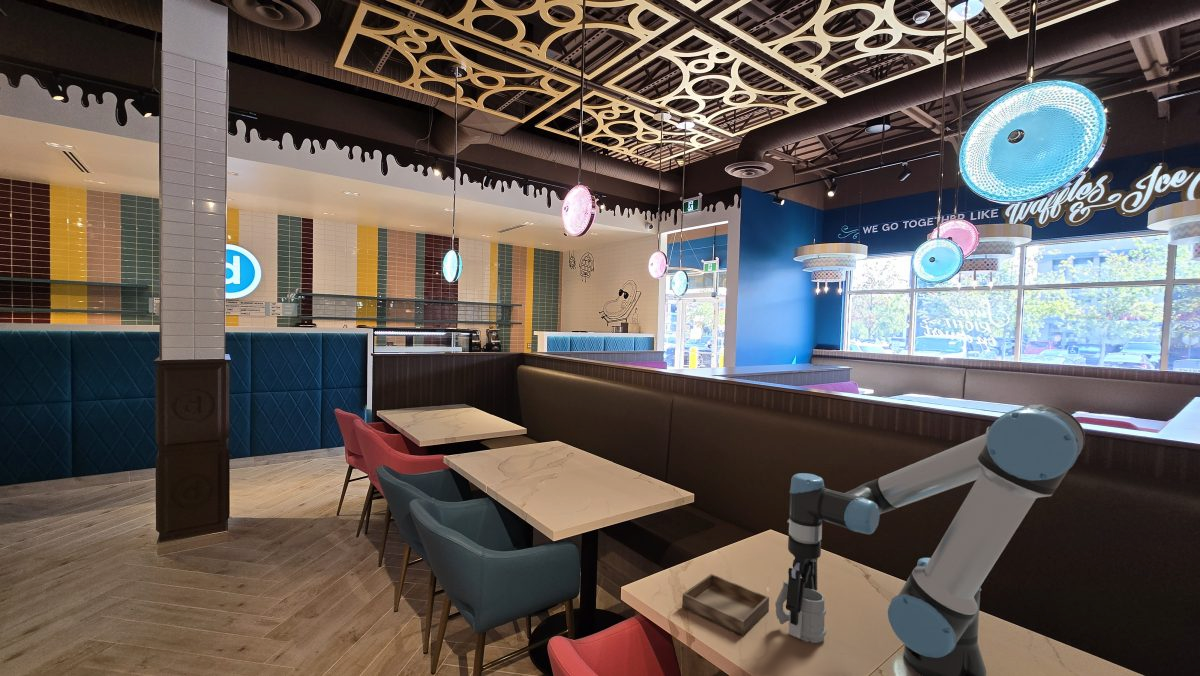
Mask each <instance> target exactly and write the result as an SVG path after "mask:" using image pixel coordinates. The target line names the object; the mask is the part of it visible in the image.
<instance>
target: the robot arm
mask: <svg viewBox="0 0 1200 676" xmlns="http://www.w3.org/2000/svg"><path fill="white" fill-rule="evenodd" d="M1085 444H1086V433H1085V430H1084V427H1083V426H1082V424H1081V423H1080V422H1079V420H1078V419H1077V418H1076V417H1075V416H1074V415H1072V414H1071V413H1070V412H1068V411H1067V410H1065V409H1063V408H1060V407H1058V406H1056V405H1051V404H1045V403H1042V404H1041V403H1034V404H1028V405H1024V406H1022V407H1020V408H1017V409H1013V410H1011V411H1007V412H1005V413H1004V414H1002V415H1001V416H999V417H998V418H997V419H995V421H994V422H993V423H992V424H991V425H990V426H988V427H987V428H986V431H985V433H984V434H981V435H980V436H977V437H975V438H972V439H970V440H967V441H964V442H963V443H960V444H957V445H955V446H953V447H950V448H948V449H945V450H943V451H941V452H939V453H936V454H934V455H932V456H929V457H926V458H924V459H921V460H919V461H917V462H915V463H912V464H909V465H907V466H905V467H902V468H900V469H897V470H895V471H893V472H890V473H887V474H886V475H883V476H880V477H879V478H875V479H873V480H871V481H866V482H865V483H862V484H861V485H859V486H856V488H853V489H851V490H848V491H846V492H840V491H837V490H834V489H833V490H832V489H830V488H827V487H825V483H824V479H823V478H822V477H821V476H818V475H816V474H814V473H808V472H807V473H805V472H804V473H803V472H801V473H795V474H794V475H792V477H791V479H790V481H791V482H790V489H789V514H788V515H789V519H787V521H786V522H787V524H788V538H787V539H788V541H787V542H788V543H787V550H788V552H789V554H791V555H792V556H793V557H794V559H793V561H792V567H788V571H787V573H788V581H787V583H788V591H787V599H786V601H785V602H786V604H785V609H786V610H787V611H789V612H788V613H789V621H788V635H791V636H793V637H795V638H797V639H800V638H801V626H802V611H801V604H802V598H803V592H804V588H809V589H813V590H816V591H817V590H818V559H819V558H820V557H821V555H822V554H821V553H822V541H821V540H822V539H823V538H822V537H823V536H822V535H823V532H822V531H823V521H824V522H827V523H830V524H833V525H836V526H837V527H838V526H839V527H842V528H843V529H844V528H845V529H848V530H850V531H852V532H855V533H860V534H864V535H872V534H874V532H875V531H876V529H878V526H879V524H880V523H879V522H880V516H881V514H884V513H888V512H890V511H893V510H896V509H899V508H900V507H904V506H906V505H909V504H912V503H915V502H919V501H921V500H924V499H926V498H930V497H932V496H934V495H938V494H940V493H943V492H945V491H948V490H949V491H950V490H951V489H954V488H957V487H960V486H963V485H966V484H968V483H971V482H974V481H975V482H974V483H973V485H972V487H971V488H970V490H969V492H968V493H967V496H966V497H965V499H964V501H963V502H962V504H961V506H960V507H959V509H958V511H957V512H956V514H955V516H954V517H953V519H952V521H951V523H950V524H949V526H948V528H947V529H946V531H945V533H944V534H943V536H942V538H941V540H940V542H939V544H938V545H937V547H936V549H935V551H934V552H933V554H932V555H931V556H930V557H922V558H919V559H918V560H917V563H916V564H917V565H916V566H915V567H914V569H913V570H912V571H911V572H910V575H909V576H908V578H907V580H906V581H905V583H904V585H903V587H902V588H901V590H900V592H899V593H898V594H897V595H896V596H894V597H892V599H891V601H890V603H889V605H888V607H887V618H888V619H887V620H888V621H889V624H890V626H891V629H892V631H893V633H895V636H896V637H897V638H898V639H899V640H900V641H901V642H902V643H903V644H904V645H903V654H904V655H903V656H904V658H905V660H906V661H907V663H908V665H910V666H911V667H912V668H913V669H914V670H915V671H916V672H918V673H920V674H921V675H922V676H987V668H986V666H985V661H984V659H983V655H982V652H981V649H980V646H979V643H978V641H979V640H978V639H979V622H980V621H979V617H980V603H981V591H982V588H981V586H982V584H983V583H984V581H985V579H987V576H988V575H989V573H990V572H991V571H992V569H993V568H994V565H995V564H996V562H997V561H998V559H999V558H1000V556H1001V554H1002V553H1003V551H1004V550H1005V549H1006V547H1007V545H1008V544H1009V542H1010V541H1011V539H1012V537H1013V536H1014V534H1015V533H1016V531H1017V529H1018V528H1019V526H1020V525H1021V523H1022V521H1023V520H1024V519H1025V516H1026V515H1027V514H1028V513H1029V510H1030V509H1031V508H1032V506H1033V504H1034V502H1035V501H1036V499H1038V498H1045V497H1052V496H1053V495H1054V493H1055V492H1056V490H1057V488H1058V487H1059V486H1060V484H1061V482H1062V480H1063V479H1064V477H1065V476H1066V475H1067V473H1068V472H1069V470H1070V469H1071V468H1072V467H1073V466H1074V464H1075V463H1076V461H1077V460H1078V457H1079V455H1080V454H1081V453H1082V451H1083V449H1084V447H1085ZM800 640H801V639H800Z"/></svg>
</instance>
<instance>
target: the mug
mask: <svg viewBox="0 0 1200 676" xmlns="http://www.w3.org/2000/svg"><path fill="white" fill-rule="evenodd" d="M787 591H788V581H786V580H783V582H782V588H781V590H780V592H779V594H778V597H777V599H776V601H775V616H776V618H777V619H778V622H779V623H780V624H781V625H784V624H785V623H786V622H789V613H790V612H786V611H785V609H784V603H785V602H786V601H787ZM801 611H802V626H801V638H800V640H802V641H804V642H806V643H813V644H819V643H822V642H824V640H825V637H826V634H827V629H826V626H825V615H826V613H827V610H826V607H825V597H824V595H823V593H821V592H820V591H816V590H813V589H809V588H804V592H803V598H802V604H801Z"/></svg>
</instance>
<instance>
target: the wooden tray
mask: <svg viewBox="0 0 1200 676" xmlns="http://www.w3.org/2000/svg"><path fill="white" fill-rule="evenodd" d="M681 602H682V603H681V605H682V606H681V607H682V609H683V610H685V611H687V612H689V613H691V614H694V615H696V616H698V617H700V618H702V619H704V620H706V621H708V622H710V623H712V624H714V625H716V626H718V627H721V628H722V629H725V630H727V631H728V632H731V633H733V634H735V635H737V636H739V637H740V638H741V637H742V638H743V637H744V636H746V635H747V634H748V632H750V631H751V629H753V628H754V627H755V626H756V625H757V623H758V622H760V621H761V620H762V619H763V618H764V617H765V616H766V615H767V614H768V613H769V611H770V597H769V596H767V595H765V594H762V593H760V592H758V591H755V590H752V589H750V588H747V587H745V586H743V585H740V584H738V583H735V582H733V581H730V580H728V579H725V578H723V577H720V576H718V575H715V574H713V573H710V574H709V575H708V576H706V577H705V578H703V579H702V580H701V581H699V582H698V583H696V584H694V585H693V586H692V587H691V588H689V589H687V591H685V592H684V593H682V601H681Z"/></svg>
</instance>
